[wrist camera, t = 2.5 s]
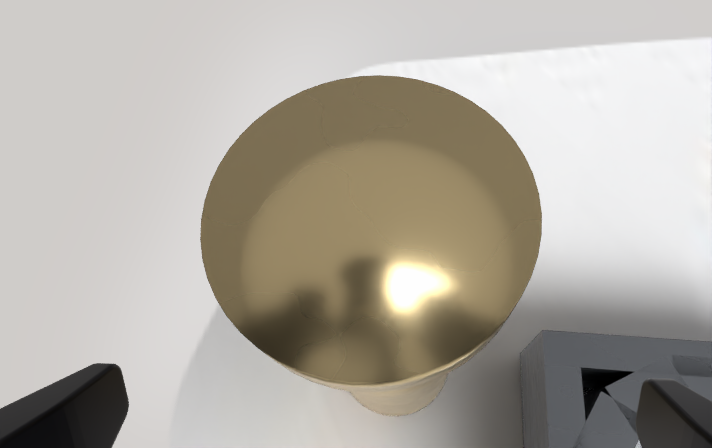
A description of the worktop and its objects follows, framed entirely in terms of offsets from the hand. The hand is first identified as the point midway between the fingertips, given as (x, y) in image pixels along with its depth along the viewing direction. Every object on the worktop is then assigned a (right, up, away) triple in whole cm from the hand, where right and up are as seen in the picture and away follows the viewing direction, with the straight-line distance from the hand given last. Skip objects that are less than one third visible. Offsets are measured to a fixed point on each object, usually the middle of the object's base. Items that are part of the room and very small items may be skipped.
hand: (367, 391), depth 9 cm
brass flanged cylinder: (+1, -2, +10) cm, 10 cm away
